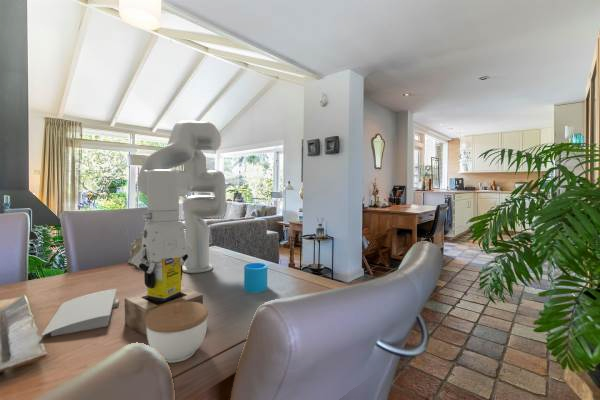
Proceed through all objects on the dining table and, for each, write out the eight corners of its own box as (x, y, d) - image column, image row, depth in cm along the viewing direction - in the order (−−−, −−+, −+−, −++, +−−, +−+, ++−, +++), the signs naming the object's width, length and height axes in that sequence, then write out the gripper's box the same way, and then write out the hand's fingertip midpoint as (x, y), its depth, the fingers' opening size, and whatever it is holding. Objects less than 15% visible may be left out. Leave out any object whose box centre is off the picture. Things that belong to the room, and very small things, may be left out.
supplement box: (181, 293, 80) (181, 254, 80) (164, 302, 75) (164, 259, 74) (164, 290, 82) (164, 252, 82) (146, 298, 77) (146, 257, 76)
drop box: (125, 323, 77) (124, 297, 77) (174, 306, 89) (174, 283, 88) (152, 341, 69) (152, 312, 69) (203, 319, 81) (203, 294, 80)
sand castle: (169, 261, 137) (167, 229, 137) (128, 267, 128) (126, 233, 128) (164, 256, 150) (163, 227, 150) (127, 261, 142) (125, 230, 141)
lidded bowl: (174, 334, 73) (173, 290, 72) (219, 343, 69) (219, 297, 68) (131, 364, 61) (130, 312, 60) (183, 376, 57) (182, 321, 56)
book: (123, 298, 95) (123, 286, 95) (117, 330, 75) (117, 315, 75) (63, 307, 88) (63, 294, 88) (39, 345, 68) (39, 328, 68)
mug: (270, 290, 103) (270, 267, 102) (246, 294, 100) (247, 270, 99) (261, 280, 114) (261, 259, 113) (239, 282, 111) (240, 261, 110)
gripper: (136, 221, 68) (137, 296, 69) (200, 215, 82) (200, 277, 83) (121, 218, 72) (122, 289, 74) (184, 213, 87) (185, 272, 88)
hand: (164, 282), depth 78 cm, fingers closed on supplement box, 6 cm apart
